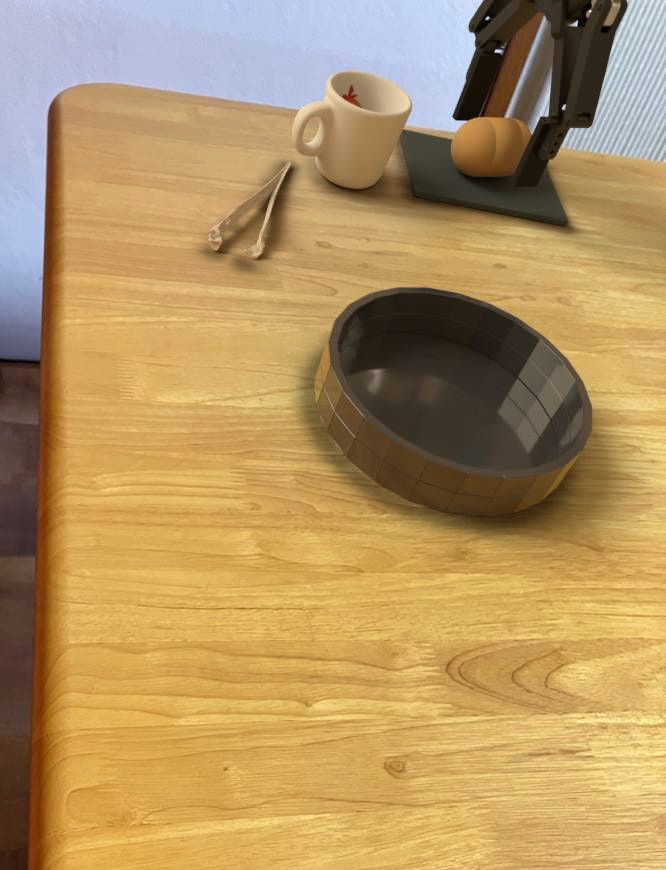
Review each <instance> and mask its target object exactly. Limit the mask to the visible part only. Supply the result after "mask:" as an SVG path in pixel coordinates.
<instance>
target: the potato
mask: <svg viewBox="0 0 666 870" xmlns="http://www.w3.org/2000/svg"><path fill="white" fill-rule="evenodd" d="M532 134H533V133H531V131H530V129H529V127H528V126H527V124H525V123H524V122H523V121H522V120H519V119H517V118H512V117H495V116H494V117H493V116H492V117H490V116H489V117H488V116H487V117H486V116H479V118H474V119H471V120H469V121H465V122H464V123H462V124H461V125H460V126H459V128H458V129H457V130H456V131H455V133H454V135H453V136H452V137H453V138H452V143H451V156H452V160H453V162H454V164H455V166H456V167H457V169H458V170H460V171H461V172H462V173H463V174H466V175H468V176H471V177H506V176H511V175H513V174H514V173H515V170H516V168H517V166H518V164H519V162H520V160H521V158H522V155H523V153H524V151H525V149H526V147H527V145H528V142H529V140H530V138H531V136H532Z"/></svg>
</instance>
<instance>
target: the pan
mask: <svg viewBox="0 0 666 870" xmlns="http://www.w3.org/2000/svg"><path fill="white" fill-rule="evenodd" d="M326 341H327V342H326V344H325V348H324V351H323V353H322V356H321V360H320V362H319V365H318V368H317V371H316V374H315V377H314V381H313V385H314V386H313V387H314V399H315V406H316V409H317V412H318V415H319V418H320V420H321V422H322V424H323V426H324V428H325V430H326V432H327V434H328V435H329V437H330V438H331V440H332V442H334V444H335V446H336V447H337V448H338V449H339V450H340V451H341V452H342V454H343V455H344V456H345V457H346V458H347V460H349V461H350V462H351V463H352V464H354V465H355V467H357V468H358V470H360V471H361V472H362V473H364V474H365V475H366V476H367V477H369V478H371V480H373V481H374V482H376V483H377V484H378V485H381V486H382V487H383V488H385V489H388V491H390V492H393V493H395V494H396V495H398V496H401V497H403V498H405V499H406V500H409V501H411V502H413V503H416V504H419V505H422V506H423V507H427V508H430V509H434V510H438V511H441V512H445V513H449V514H455V515H461V516H471V517H496V516H503V515H509V514H515V513H517V512H521V511H524V510H526V509H529V508H530V507H533V506H535V505H538V504H539V503H541V502H542V501H543V500H544V499H545V498H547V497H548V496H549V495H550V494H551V493H552V492H553V491H555V490H556V489H557V488H558V486H559V485H560V484H561V482H562V481H563V479H564V478H565V477H566V475H567V474H568V472H569V471H570V469H571V468H572V467H573V465H574V464H575V462H576V461H577V460H578V458H579V457H580V456H581V454H582V453H583V451H584V449H585V447H586V445H587V443H588V440H589V438H590V436H591V433H592V431H593V405H592V402H591V399H590V397H589V394H588V391H587V388H586V385H585V383H584V381H583V379H582V378H581V376H580V375H579V374H578V372H577V371H576V369H575V367H574V366H573V365H572V363H571V361H570V360H569V359H568V358H567V356H565V354H564V353H562V352H561V350H560V349H558V348H557V347H556V346H555V345H554V343H552V342H551V341H550V340H549V339H548V338H547V337H545V336H544V335H543V334H542V333H541V332H539V331H537V330H536V329H535V328H533V327H532V326H531V325H529V324H528V323H526V322H525V321H523V320H522V319H521V318H519V317H517V316H516V315H514V314H512V313H510V312H507V311H506V310H505V309H502V308H500V307H498V306H496V305H494V304H492V303H490V302H487V301H484V300H481V299H477V298H476V297H472V296H469V295H465V294H463V293H460V292H456V291H451V290H445V289H439V288H433V287H425V286H402V287H401V286H398V287H397V286H395V287H391V288H386V289H381V290H377V291H372V292H370V293H367V294H366V295H363V296H361V297H360V298H358V299H356V300H354V301H352V302H350V303H349V304H348V305H347V306H346V307H345V308H344V310H342V311H341V313H340V314H339V315H337V317H336V318H335V319H334V321H333V324H332V327H331V330H330V333H329V336H328V339H327V340H326Z"/></svg>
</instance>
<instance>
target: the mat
mask: <svg viewBox="0 0 666 870" xmlns="http://www.w3.org/2000/svg"><path fill="white" fill-rule="evenodd" d="M399 140H400V143H401V147H402V151H403V157H404V160H405V166H406V171H407V174H408V178H409V182H410V188H411V192H412V197H416V198H420V199H426V200H430V201H436V202H440V203H441V202H442V203H446V204H452V205H455V206H461V207H466V208H471V209H472V208H473V209H477V210H482V211H486V212H491V213H496V214H501V215H507V216H511V217H519V218H522V219H527V220H533V221H538V222H544V223H548V224H552V225H559V226H562V227H566V226H567V224H568V222H569V220H568V217H567V215H566V213H565V211H564V208H563V205H562V203H561V200H560V198H559V195H558V193H557V191H556V187H555V186H554V184H553V180H552V179H551V176H550V174H549V171H548V170H547V167H546V168H545V170H544V172H543V174H542V176H541V178H540V180H539V183H538V185H537V187H513V186H512V185H511V183H510V181H511V179H512V177H513V175H514V174H513V175H511V176H506V177H471V176H468V175H466V174H463V173H462V172H461V171H460V170H458V169H457V167H456V166H455V164H454V162H453V160H452V156H451V143H452V140H453V138H452V139H451V138H447V137H442V136H437V135H432V134H427V133H423V132H419V131H414V130H408V129H404V128H403V130H402V133H401V135H400V137H399Z"/></svg>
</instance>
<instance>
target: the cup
mask: <svg viewBox="0 0 666 870" xmlns="http://www.w3.org/2000/svg"><path fill="white" fill-rule="evenodd" d="M412 108H413V103H412V99H411V97H410V95H409V94H408V93H407V92H406V91H405V90H404V89H403V88H402V87H401V86H399V85H398V84H396V83H395V82H393V81H391V80H389V79H387V78H384V77H382V76H380V75H377V74H374V73H369V72H365V71H361V70H360V71H359V70H342V71H338V72H336V73H334V74H333V73H332V75H331V76H329V78H328V79H327V81H326V84H325V90H324V95H323V100H318V101H313V102H310V103H307V104H305V105H304V106H303V107H301V108H300V110H299V111H298V112H297V114H295V115H296V116H295V117H294V120H293V124H292V128H291V142H292V146H293V147H294V150H295V151H297V153H299V155H301V156H305V157H314V161H315V166H316V168H317V170H318V172H319V173H320V174H321V175H322V177H324V178H325V179H326V180H328V181H329V182H331V183H333V184H335V185H337V186H339V187H342V188H346V189H347V188H348V189H351V190H361V189H363V190H364V189H366V188H369V187H372V186H373V185H375V184H376V183H377V182H378V181H379V180H380V179H381V177H382V175H383V174H384V171H385V170H386V167H387V165H388V163H389V161H390V159H391V157H392V154H393V152H394V150H395V148H396V146H397V144H398V141H399V140H400V135H401V133H402V130H403V129H404V128H405V126H406V124H407V121H408V119H409V117H410V115H411V113H412ZM316 117H317V118H319V126H318V128H317V132H316V135H315V136H314V138H313V139H312V140H311V141H309V142H306V143H304V140H303V139H304V131H305V129H306V127H307V125H308V123H309V122H310V121H311V120H313V119H314V118H316Z"/></svg>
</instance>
